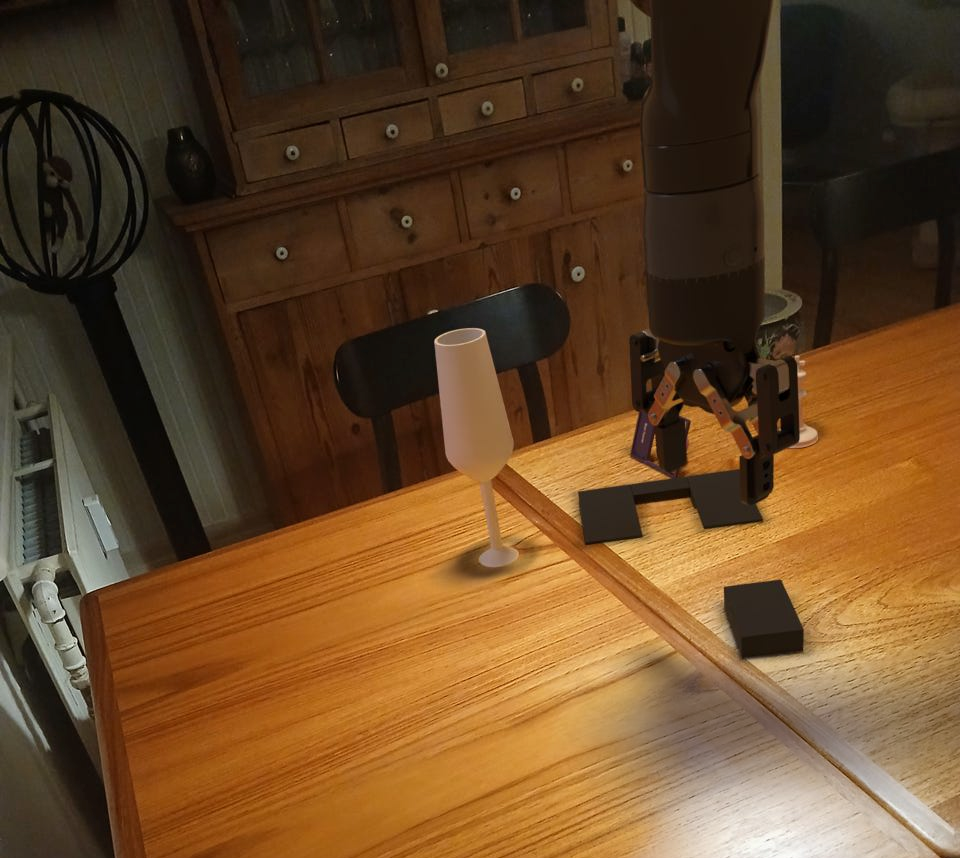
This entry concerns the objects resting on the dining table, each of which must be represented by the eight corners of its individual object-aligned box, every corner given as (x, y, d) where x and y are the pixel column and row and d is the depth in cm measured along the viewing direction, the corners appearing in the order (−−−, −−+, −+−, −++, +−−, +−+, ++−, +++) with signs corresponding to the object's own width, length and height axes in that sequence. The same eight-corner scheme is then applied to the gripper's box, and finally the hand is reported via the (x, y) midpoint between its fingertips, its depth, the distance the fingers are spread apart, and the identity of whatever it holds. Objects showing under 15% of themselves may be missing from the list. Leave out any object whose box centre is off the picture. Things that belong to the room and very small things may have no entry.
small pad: (781, 607, 88) (781, 579, 86) (803, 659, 81) (804, 629, 80) (724, 614, 88) (723, 586, 87) (741, 666, 82) (741, 637, 80)
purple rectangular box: (636, 400, 116) (683, 420, 109) (671, 401, 118) (719, 421, 111) (624, 455, 118) (669, 478, 112) (659, 456, 121) (705, 478, 114)
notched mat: (740, 478, 110) (739, 468, 109) (763, 529, 100) (763, 518, 99) (579, 500, 112) (577, 491, 111) (586, 552, 102) (584, 542, 101)
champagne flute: (472, 550, 106) (429, 330, 93) (534, 545, 105) (499, 320, 92) (464, 583, 101) (418, 353, 87) (529, 577, 99) (492, 344, 86)
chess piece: (820, 446, 113) (822, 361, 107) (775, 450, 114) (775, 366, 108) (815, 429, 117) (818, 346, 111) (772, 432, 118) (772, 351, 112)
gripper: (832, 251, 59) (824, 493, 68) (673, 230, 70) (684, 442, 79) (741, 287, 57) (745, 534, 66) (590, 259, 67) (611, 475, 76)
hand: (712, 483), depth 72 cm, fingers open, 8 cm apart
